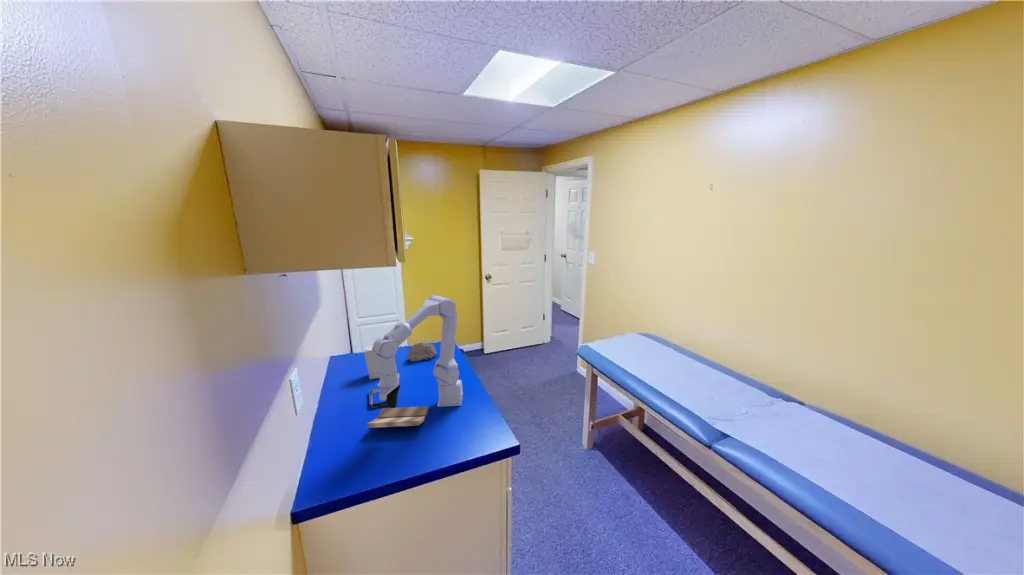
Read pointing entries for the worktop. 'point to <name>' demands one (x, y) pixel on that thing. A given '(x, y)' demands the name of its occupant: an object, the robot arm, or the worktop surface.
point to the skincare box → (371, 362)
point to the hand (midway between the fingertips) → (392, 406)
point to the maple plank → (396, 422)
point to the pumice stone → (421, 351)
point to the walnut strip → (403, 412)
